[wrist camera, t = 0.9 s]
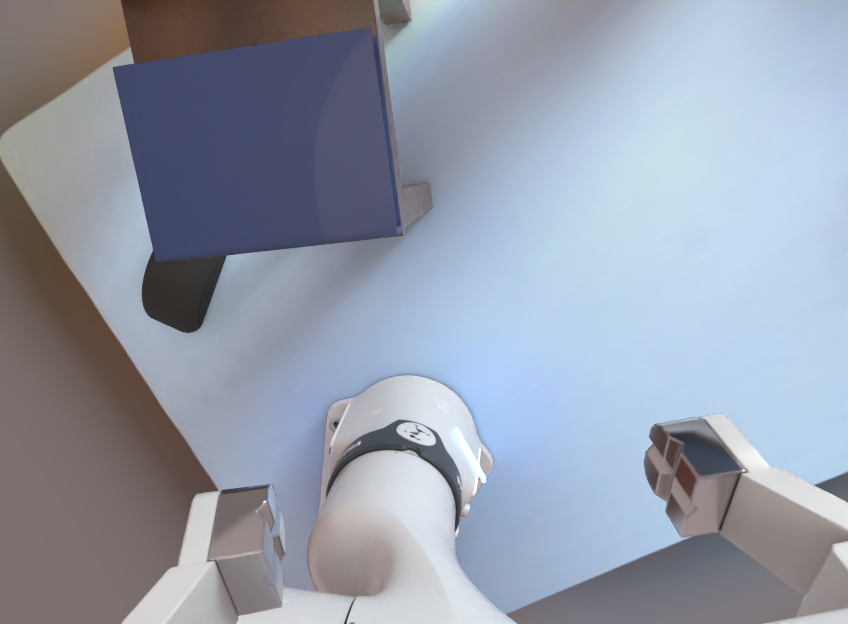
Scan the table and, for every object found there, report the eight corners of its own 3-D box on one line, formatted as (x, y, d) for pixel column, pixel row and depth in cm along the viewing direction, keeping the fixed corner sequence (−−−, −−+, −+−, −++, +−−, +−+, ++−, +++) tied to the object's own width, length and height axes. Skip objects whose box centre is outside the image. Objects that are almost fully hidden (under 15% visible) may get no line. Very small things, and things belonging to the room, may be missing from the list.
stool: (410, -10, 54) (352, -161, 29) (434, 209, 58) (403, 235, 34) (264, 13, 55) (96, -111, 31) (299, 224, 60) (176, 261, 35)
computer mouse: (231, 241, 61) (214, 246, 57) (198, 335, 64) (180, 346, 60) (176, 216, 61) (155, 219, 57) (145, 311, 63) (123, 320, 60)
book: (377, 36, 31) (370, 27, 29) (402, 231, 34) (397, 235, 32) (135, 73, 33) (112, 66, 31) (175, 256, 35) (155, 262, 33)
